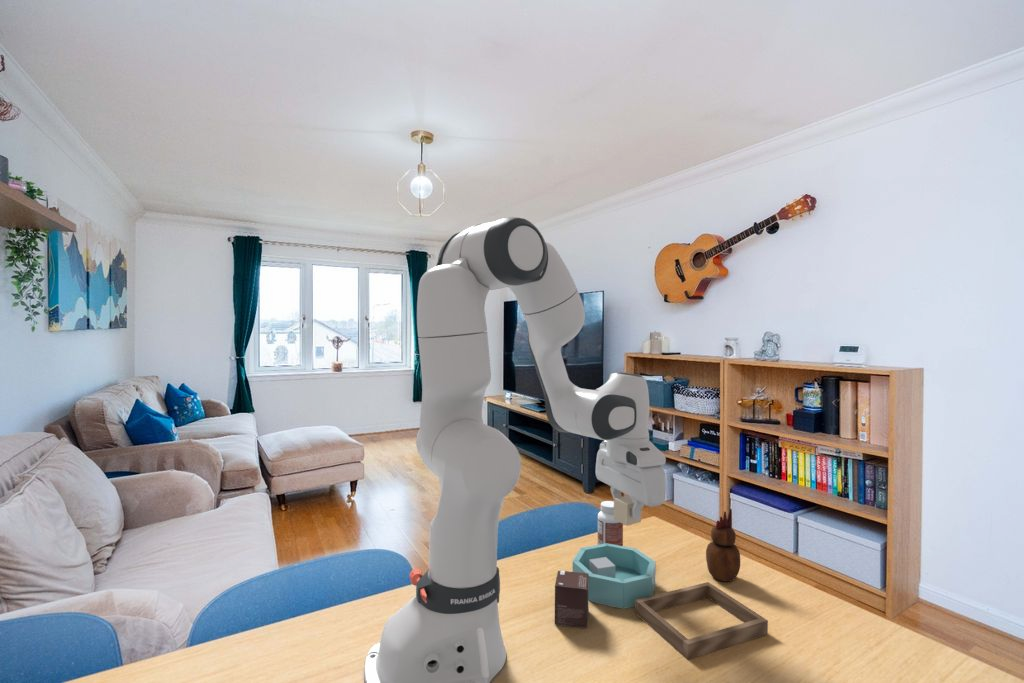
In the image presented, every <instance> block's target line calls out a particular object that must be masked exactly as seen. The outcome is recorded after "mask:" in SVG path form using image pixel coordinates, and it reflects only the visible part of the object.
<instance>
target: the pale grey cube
mask: <svg viewBox="0 0 1024 683" xmlns="http://www.w3.org/2000/svg"><path fill="white" fill-rule="evenodd" d="M589 571H591V572H592V573H593V574H597V575H602V576H606V577H611V578H615V565H614V564H613V563H612V562H611V561H610V560H609V559H608V558H606V557H603V558H596V559H590V560H589Z"/></svg>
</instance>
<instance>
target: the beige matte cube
mask: <svg viewBox="0 0 1024 683" xmlns="http://www.w3.org/2000/svg"><path fill="white" fill-rule="evenodd" d="M613 501H614V520H616V521H618V522H620V523H622V524H623V526H626V527H628V526H631V525H635V524H638V523H641V522H642V516H641V517H640V518H639V519H634V518H632V517H631V516H630V508H633V505H634V503H633V498H632V497H630V496H628V495H623V496H622V497H618V498H614V499H613Z"/></svg>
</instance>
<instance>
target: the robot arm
mask: <svg viewBox="0 0 1024 683" xmlns="http://www.w3.org/2000/svg"><path fill="white" fill-rule="evenodd" d="M417 288H418V289H417V301H416V325H417V326H416V327H417V337H418V338H417V340H418V351H419V360H420V362H419V363H420V372H421V389H422V391H421V407H420V417H419V418H420V419H419V428H418V431H417V434H416V439H415V441H416V442H415V445H416V449H417V453H418V456H419V458H420V459H421V462H422V464H423V465H424V467H425V468H426V469H427V470H428V471H430V472H431V474H433V475H434V476H436V477H437V478H438V481H439V486H440V494H439V501H438V504H437V510H436V513H435V516H434V517H433V518H432V519H431V521H430V524H429V528H428V537H429V538H428V569H427V570H426V572H425V573H424V574H422V570H420V569H419V568H414V569H412V570H411V572H410V573H409V579H410V583H411V584H412V585H413V586H415V588H416V589H415V595H414V596H413V597H412V598H411V599H410V600H409V601H407V602H406V603H405V604H404V605H403V606H402V607H401V608H399V609H398V610H397V611H395V612H394V613H393V614H392V615H391V616H390V617H389V618H388V619H387V620H386V622H385V624H384V626H383V628H382V631H381V636H380V640H379V641H380V642H378V643H377V642H376V643H375V644H374V645H372V646H371V647H370V649H369V650H368V652H367V654H366V657H365V660H364V667H363V677H364V679H363V680H364V683H491V681H492V680H493V679H494V678H495V677H496V676H497V675H498V674H499V672H500V671H501V670H502V668H503V667H504V665H505V663H506V659H507V650H506V647H505V644H504V640H503V636H502V635H503V634H502V630H501V625H500V617H499V616H500V613H499V603H500V594H501V579H500V578H501V576H500V568H499V567H498V530H499V529H498V528H499V522H500V515H501V512H502V508H503V504H504V502H505V501H504V500H505V499H506V497H507V496H508V495H510V493H511V492H512V491H513V490H514V488H515V487H516V485H518V482H519V479H520V477H521V472H522V458H521V455H520V452H519V450H518V448H517V447H516V446H515V444H514V443H513V442H512V441H511V440H510V439H509V438H508V437H507V436H506V435H505V434H504V433H502V431H500V430H499V429H497V428H495V427H492V426H490V425H487V424H485V423H484V421H483V404H484V397H485V393H486V391H487V390H486V389H487V388H488V386H489V385H490V383H491V380H492V372H491V371H492V370H491V360H490V359H491V358H490V346H489V336H488V327H487V319H486V317H487V316H486V312H485V306H486V300H487V297H488V293H489V291H494V290H501V289H504V288H509V290H511V292H512V293H513V294H514V295H515V299H516V301H517V304H518V306H519V308H520V310H521V314H522V315H523V318H524V320H525V323H526V327H527V329H528V330H527V331H528V333H527V345H528V348H529V353H530V356H531V359H532V362H533V365H534V368H535V370H536V371H535V372H536V375H537V377H538V381H539V384H540V385H541V389H542V393H543V397H544V406H545V414H546V418H547V420H548V422H549V424H550V425H551V427H552V428H553V429H554V430H556V431H557V432H561V433H568V434H576V435H580V436H584V437H587V438H592V439H597V440H600V441H601V443H600V444H599V449H598V451H597V453H596V461H595V477H596V479H597V480H598V481H600V482H602V483H604V484H606V485H608V486H610V493H611V496H612V499H613V500H614V498H618V497H623V496H622V494H625V496H627V495H628V496H630V497H632V498H633V503H634V505H633V508H630V516H631V517H632V518H634V519H639V518H640V517H641V518H642V510H643V508H644V506H647V507H650V508H651V507H657V506H660V505H662V504H663V503H664V502H665V501H666V494H667V493H666V492H667V490H666V486H667V484H666V481H667V480H666V472H665V469H664V467H663V466H664V465H665V464H666V463H667V462H666V461H667V458H666V455H665V454H664V453H663V451H661V450H660V449H658V447H657V446H655V444H654V443H653V442H651V440H650V432H649V429H648V421H649V418H650V394H649V392H650V391H649V387H648V382H647V380H646V378H645V377H643V376H642V375H640V374H636V373H630V372H629V373H628V372H621V371H614V372H612V373H610V374H609V378H608V380H607V381H606V382H605V383H604V384H602V385H601V386H600V387H598V388H596V389H589V388H588V389H587V388H583V387H582V388H581V387H579V386H578V385H576V384H574V383H573V382H572V381H571V380H570V378H569V374H568V372H567V368H566V364H565V362H564V359H563V355H562V347H563V346H565V345H566V344H568V343H569V342H570V341H572V340H573V339H574V338H575V337H576V336H577V335H578V334H579V333H580V331H581V330H582V328H583V326H584V323H585V319H586V312H585V307H584V303H583V300H582V297H581V295H580V292H579V291H578V290H579V289H578V288H577V286H576V283H575V281H574V279H573V277H572V275H571V272H570V271H569V269H568V266H567V265H566V263H565V262H564V260H563V258H562V257H561V255H560V254H559V252H558V251H557V249H556V248H555V247H554V246H553V245H552V244H551V243H549V242H546V240H545V238H544V236H543V234H542V233H541V232H540V230H539V229H538V228H537V226H536V225H534V223H532V222H531V221H529V220H528V219H525V218H521V217H517V216H516V217H515V216H514V217H513V216H511V217H510V216H509V217H503V218H499V219H497V220H495V221H488V222H483V223H477V224H475V225H473V226H471V227H467V228H466V229H464V230H463V231H459V232H456V233H454V234H453V235H452V236H449V238H448V239H447V240H446V241H445V242H444V243H443V245H442V246H441V248H440V250H439V253H438V258H437V263H436V265H435V266H434V267H432V268H429V269H428V270H427V271H425V272H424V273H423V275H422V276H421V277H420V280H419V282H418V287H417Z"/></svg>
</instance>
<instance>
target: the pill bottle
mask: <svg viewBox="0 0 1024 683" xmlns="http://www.w3.org/2000/svg"><path fill="white" fill-rule="evenodd" d="M605 543H608V544H613V545H619V546H624V524H622V523H620V522H618V521H616V520H614V500H603V501H601V503H600V511H599V512H598V513H597V545H599V544H605Z"/></svg>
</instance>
